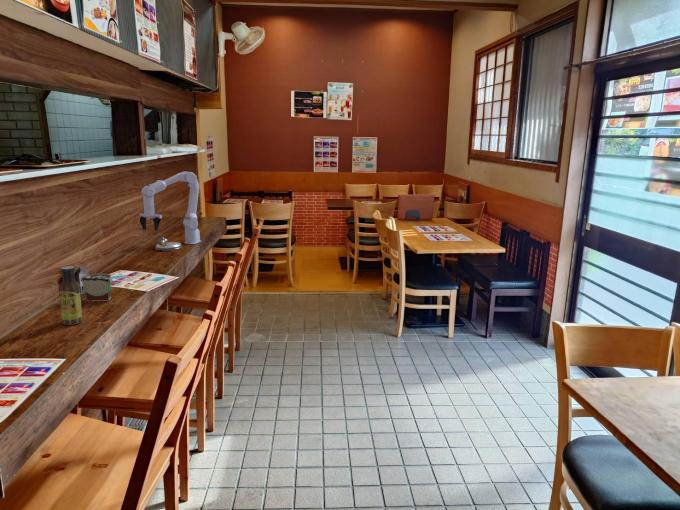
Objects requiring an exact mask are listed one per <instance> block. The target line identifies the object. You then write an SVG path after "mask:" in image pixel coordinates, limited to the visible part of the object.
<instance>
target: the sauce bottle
mask: <svg viewBox="0 0 680 510" xmlns="http://www.w3.org/2000/svg"><path fill="white" fill-rule="evenodd" d="M75 270H76V269H75V267H74V266H73V265H72V266H71V265H68V266H67V265H66V266H63V267H60V272H61V283H60V285H59V287H58V289H59V291H58V294H59V307H60V309H59V310H60V318H61V320H62V321H61V322H62V324H63V325H67V326H74V325H75V326H76V325H77V324H81V323H82V322H83V319H82V318H83V312H82V301H81V299H82V297H81V291H80V285H79V284H78V283H79V282H77V281H76V278H75ZM80 322H81V323H80Z"/></svg>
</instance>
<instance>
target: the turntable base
mask: <svg viewBox="0 0 680 510" xmlns="http://www.w3.org/2000/svg"><path fill="white" fill-rule="evenodd" d="M181 248H182V249H183V245H182V244H181V247H178V248H173V249H159V248H156V246H155V248H154V249H155V251H158V250H162V251H161V252H171V251H170V250H175V251H178V250H177V249H179V250H182V249H181Z"/></svg>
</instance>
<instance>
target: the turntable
mask: <svg viewBox="0 0 680 510" xmlns="http://www.w3.org/2000/svg"><path fill="white" fill-rule="evenodd" d="M161 243H162V245H159V243H157V244H156V245H155V247H156V248H159V249H173V248H178V247H181V245H182V243H181V242H176V241H168V244H167V245H165V243H164V240H162V241H161Z"/></svg>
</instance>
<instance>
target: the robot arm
mask: <svg viewBox="0 0 680 510" xmlns="http://www.w3.org/2000/svg"><path fill="white" fill-rule="evenodd" d="M177 182H184V183H185V184H186V185H188V187H189V195H188V205H187V211H186V214H185V216H184V219H183V221H182V223H183V226H184V238H185V242H183V243H185V244H186V245H196V244H198V243H201V242H202V240H201V235H200V229H198V226H199V222H198V215H197V208H198V201H199V194H200V183H199V180H198V176H197V175H196V174H195V173H194V172H192V171H182V172H179V173H178V172H177V174H175V175H172V176H170V177H168V178H166V179H165V180H161V179H160V180H159V179H157V180H156V182H152V183H148V185H145V186H143V187H142V189H141V194H142V195H143V197H142V198H143V213H139V214H140V216H141V218H140V221H139V223H140V225H141V227H142V230H143V231H145V230H147V219H148V218H149V219H152V220H153V225H154V231H159V226H160V223H161V221H162V218H163V215H162V214H157V213H155V198H154V196H155V194H157V193H160V192H162V191H163V190H165V189H166V188H167V186H169V185H172V184H174V183H177ZM185 244H184V245H185Z"/></svg>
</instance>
